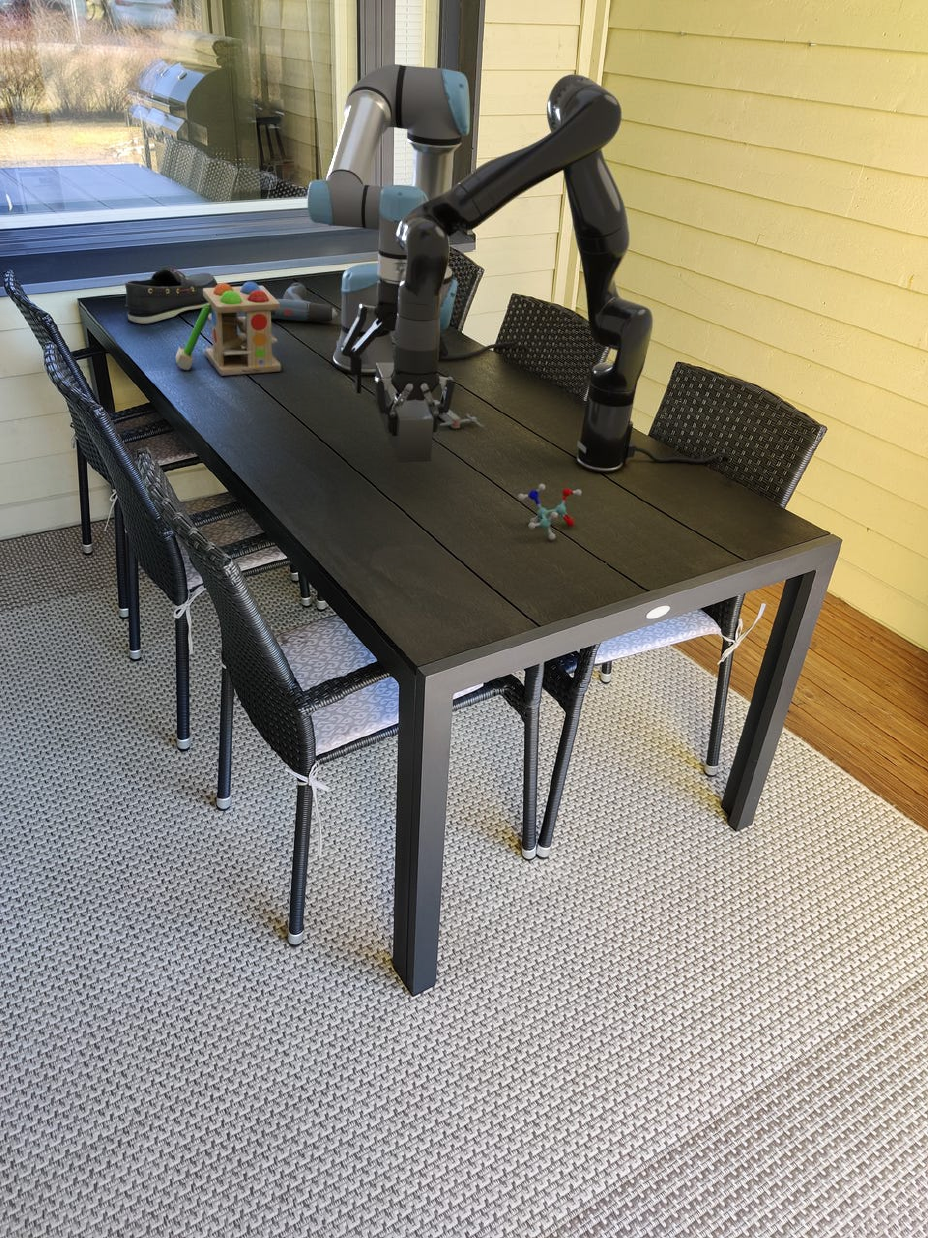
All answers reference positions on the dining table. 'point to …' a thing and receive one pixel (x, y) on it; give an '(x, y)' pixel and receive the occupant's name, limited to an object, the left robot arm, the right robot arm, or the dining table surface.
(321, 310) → the power drill
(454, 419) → the clamp
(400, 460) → the bar
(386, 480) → the dining table surface
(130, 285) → the boat shoe
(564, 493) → the molecular model
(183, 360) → the pounding bench toy
